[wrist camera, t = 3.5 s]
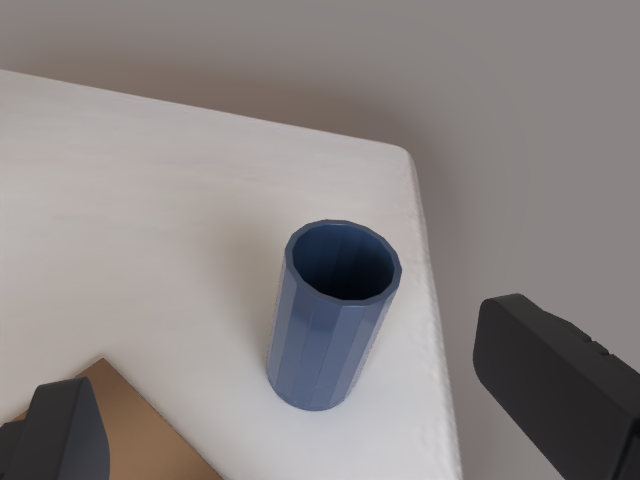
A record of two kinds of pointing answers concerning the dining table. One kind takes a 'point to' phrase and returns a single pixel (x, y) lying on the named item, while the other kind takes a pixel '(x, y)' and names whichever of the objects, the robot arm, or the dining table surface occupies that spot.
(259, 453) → the dining table surface
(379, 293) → the pen holder
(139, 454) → the desk mat
